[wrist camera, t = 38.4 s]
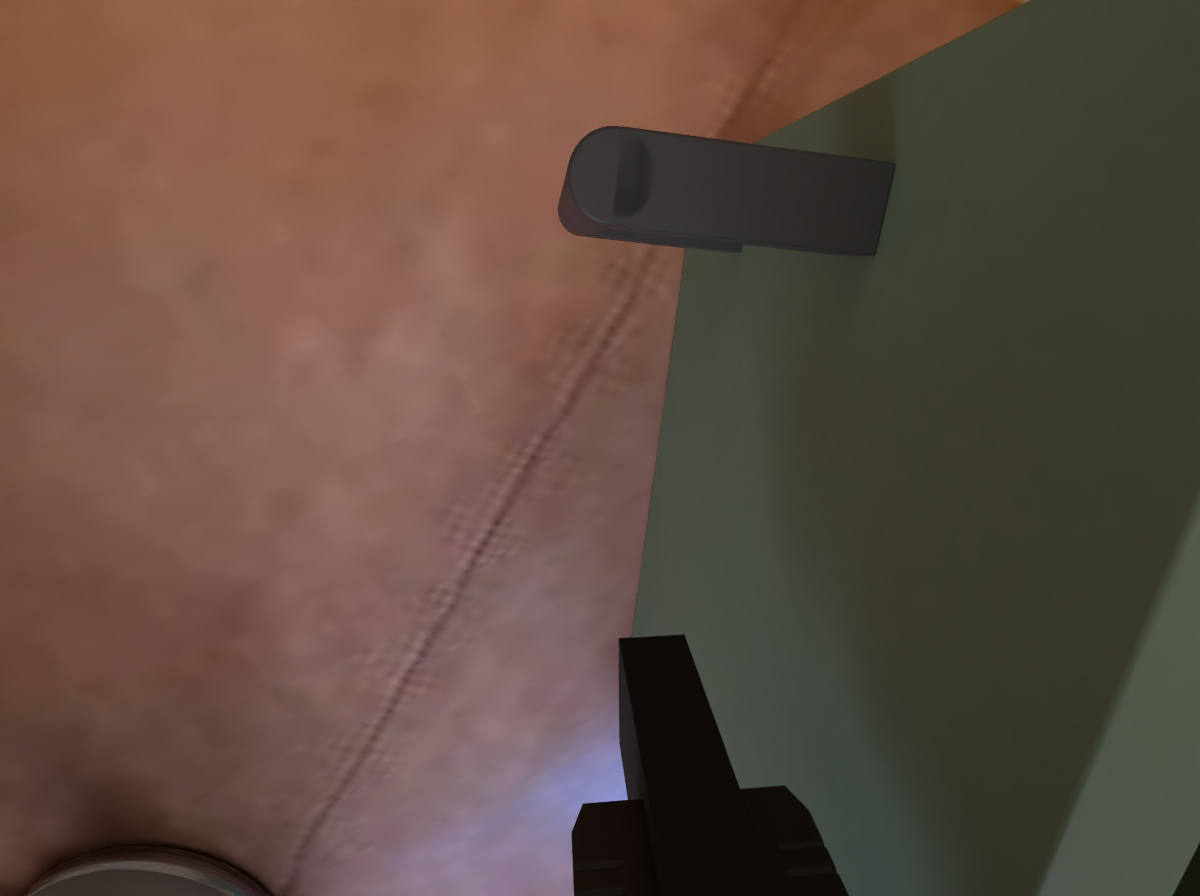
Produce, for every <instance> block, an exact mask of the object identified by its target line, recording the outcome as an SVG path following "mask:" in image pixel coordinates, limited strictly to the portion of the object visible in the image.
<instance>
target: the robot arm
mask: <svg viewBox="0 0 1200 896" xmlns="http://www.w3.org/2000/svg"><path fill="white" fill-rule="evenodd" d="M619 737H620V749H621V756H622V762H623V769H624V776H625V783H626V789H627V796H628V800H623V801H610V802H598V803H586V804H583V805H582V807H581V810H580V813H579V815H578V818H577V820H576V823H575V825H574V828H573V831H572V855H573V880H574V896H849V894H848V892H847V890H846V888H845V886H844V884H843V882H842V880H841V877H840V875H839V874H837V872H836V867H835V865H834V862H833V860H832V858H831V856H830V854H829V852H828V850H827V848H825V846H824V841H823V839H822V837H821V835H820V833H819V830H818V828H817V826H816V824H815V822H814V820H813V818H812V816H811V813H810V811H809V810H808V809H807V808H806V807H805V806H804V805H803V804H802V803H801V801H800V800H799V799H798V798H797V797H796V796H795V795H794V794H793V793H792V792H791V791H790V790H789V789H788V788H787V787H786V786H785V785H782V786H770V787H758V788H746V789H740V787H739V784H738V782H737V779H736V776H735V773H734V770H733V768H732V765H731V762H730V759H729V757H728V754H727V751H726V748H725V745H724V743H723V740H722V737H721V734H720V732H719V729H718V726H717V723H716V720H715V718H714V715H713V712H712V709H711V707H710V704H709V701H708V698H707V695H706V693H705V690H704V687H703V684H702V682H701V679H700V676H699V673H698V670H697V668H696V665H695V662H694V659H693V657H692V654H691V651H690V648H689V645H688V643H687V640H686V637H685V634H681V635H666V636H649V637H633V638H619ZM25 896H269V895H268V894H267V893H266V891H265V890H263V889H262V888H261V887H260V886H259V885H258V884H257V883H255V882H254V881H253V880H251V879H250V878H249V877H247V876H246V875H244V874H243V873H241V872H240V871H238V870H236V869H234V868H232V867H230V866H229V865H227V864H225V863H222V862H220V861H218V860H215V859H213V858H210V857H207V856H204V855H201V854H198V853H194V852H190V851H186V850H181V849H175V848H169V847H160V846H122V847H113V848H107V849H101V850H97V851H93V852H89V853H86V854H83V855H80V856H77V857H75V858H73V859H70V860H68V861H66V862H64V863H62V864H60V865H58V866H56V867H55V868H53V869H52V870H50V871H49V872H47V873H46V874H45V875H43V876H42V877H41V878H40V879H39V880H38V881H37V882H36V883H35V884H34V885H33V886H32V887H31V888H30V889H29V891H28V892H27V893H26V894H25Z"/></svg>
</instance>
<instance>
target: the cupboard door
mask: <svg viewBox="0 0 1200 896" xmlns="http://www.w3.org/2000/svg"><path fill="white" fill-rule="evenodd" d="M558 215H559V218H560V221H561V223H562V225H563V226H564V227H565V229H566V230H568V231H569V232H570V233H572V234H574V235H577V236H583V237H592V238H601V239H610V240H619V241H627V242H636V243H645V244H654V245H663V246H671V247H680V248H686V251H685V258H684V265H683V272H682V280H681V287H680V294H679V301H678V308H677V315H676V322H675V330H674V337H673V344H672V351H671V358H670V365H669V373H668V380H667V387H666V394H665V401H664V408H663V416H662V423H661V430H660V437H659V444H658V451H657V459H656V466H655V473H654V480H653V487H652V494H651V502H650V509H649V516H648V523H647V530H646V537H645V545H644V552H643V559H642V566H641V573H640V580H639V587H638V595H637V602H636V609H635V616H634V623H633V630H632V638H633V637H649V636H666V635H681V634H685V637H686V640H687V643H688V645H689V648H690V651H691V654H692V657H693V659H694V662H695V665H696V668H697V670H698V673H699V676H700V679H701V682H702V684H703V687H704V690H705V693H706V695H707V698H708V701H709V704H710V707H711V709H712V712H713V715H714V718H715V720H716V723H717V726H718V729H719V732H720V734H721V737H722V740H723V743H724V745H725V748H726V751H727V754H728V757H729V759H730V762H731V765H732V768H733V770H734V773H735V776H736V779H737V782H738V784H739V787H740V789H746V788H758V787H770V786H782V785H785V786H786V787H787V788H788V789H789V790H790V791H791V792H792V793H793V794H794V795H795V796H796V797H797V798H798V799H799V800H800V801H801V803H802V804H803V805H804V806H805V807H806V808H807V809H808V810H809V811H810V813H811V816H812V818H813V820H814V822H815V824H816V826H817V828H818V830H819V833H820V835H821V837H822V839H823V841H824V846H825V848H827V850H828V852H829V854H830V856H831V858H832V860H833V862H834V865H835V867H836V872H837V874H839V875H840V877H841V880H842V882H843V884H844V886H845V888H846V890H847V892H848V894H849V896H1173V894H1174V892H1175V890H1176V888H1177V886H1178V884H1179V882H1180V880H1181V878H1182V876H1183V874H1184V872H1185V870H1186V868H1187V866H1188V865H1189V863H1190V861H1191V859H1192V857H1193V855H1194V853H1195V851H1196V849H1197V847H1198V845H1199V843H1200V0H1030V1H1028V2H1026V3H1024V4H1023V5H1021V6H1019V7H1017V8H1015V9H1013V10H1011V11H1009V12H1007V13H1005V14H1003V15H1001V16H999V17H997V18H995V19H993V20H991V21H989V22H988V23H986V24H984V25H982V26H980V27H978V28H976V29H974V30H972V31H970V32H968V33H966V34H964V35H962V36H960V37H958V38H956V39H954V40H952V41H951V42H949V43H947V44H945V45H943V46H941V47H939V48H937V49H935V50H933V51H931V52H929V53H927V54H925V55H923V56H921V57H919V58H917V59H915V60H914V61H912V62H910V63H908V64H906V65H904V66H902V67H900V68H898V69H896V70H894V71H892V72H890V73H888V74H886V75H884V76H882V77H880V78H879V79H877V80H875V81H873V82H871V83H869V84H867V85H865V86H863V87H861V88H859V89H857V90H855V91H853V92H851V93H849V94H847V95H845V96H843V97H842V98H840V99H838V100H836V101H834V102H832V103H830V104H828V105H826V106H824V107H822V108H820V109H818V110H816V111H814V112H812V113H810V114H808V115H807V116H805V117H803V118H801V119H799V120H797V121H795V122H793V123H791V124H789V125H787V126H785V127H783V128H781V129H779V130H777V131H775V132H773V133H771V134H770V135H768V136H766V137H764V138H762V139H760V140H758V141H756V142H754V143H752V144H750V143H742V142H735V141H727V140H720V139H712V138H705V137H697V136H690V135H682V134H675V133H667V132H660V131H652V130H645V129H637V128H630V127H619V126H606V127H602V128H599V129H596V130H594V131H592V132H590V133H589V134H588V135H586V136H585V137H584V138H583V139H582V140H581V141H580V142H579V143H578V145H577V146H576V147H575V149H574V151H573V153H572V155H571V158H570V161H569V164H568V168H567V172H566V176H565V180H564V184H563V188H562V192H561V196H560V200H559V205H558Z"/></svg>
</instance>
